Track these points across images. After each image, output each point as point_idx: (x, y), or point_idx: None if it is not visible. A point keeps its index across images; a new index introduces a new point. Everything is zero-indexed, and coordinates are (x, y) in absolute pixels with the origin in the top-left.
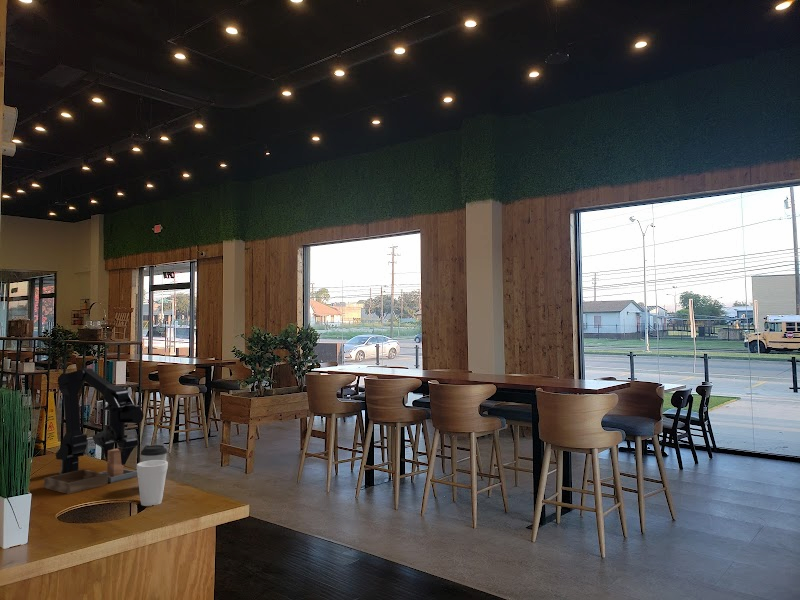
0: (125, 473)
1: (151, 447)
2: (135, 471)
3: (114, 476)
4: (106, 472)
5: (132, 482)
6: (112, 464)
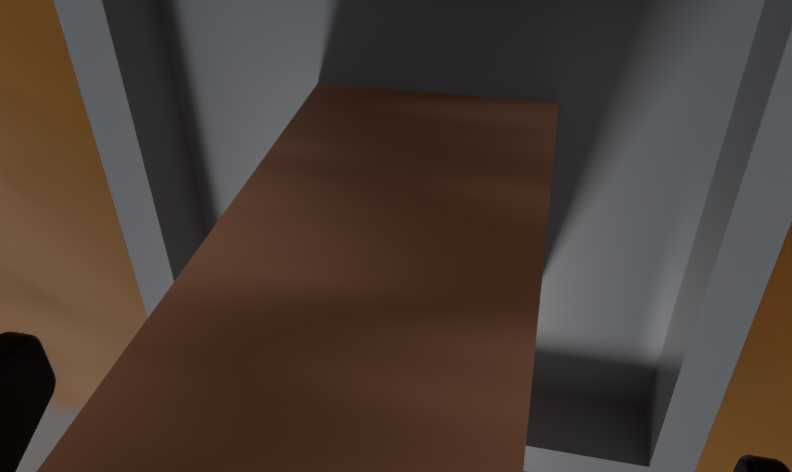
0: None
1: None
2: None
3: (88, 6)
4: (714, 234)
5: (23, 149)
6: (259, 284)
